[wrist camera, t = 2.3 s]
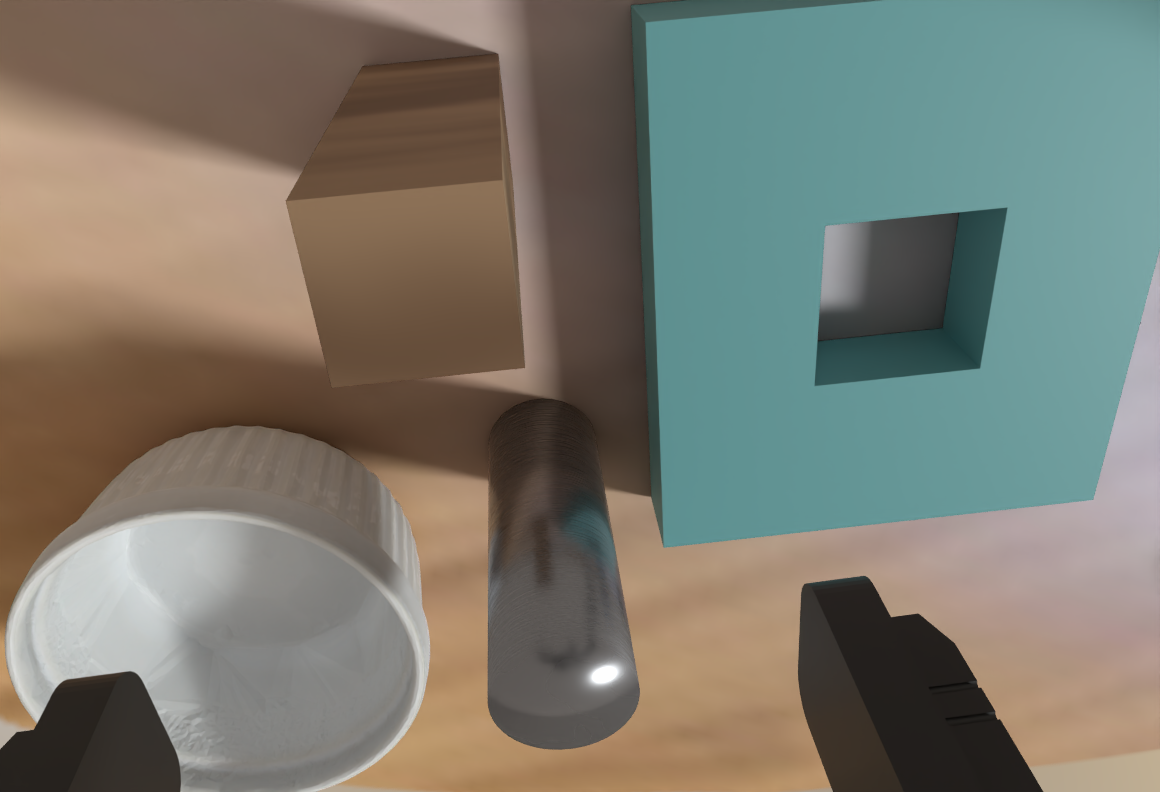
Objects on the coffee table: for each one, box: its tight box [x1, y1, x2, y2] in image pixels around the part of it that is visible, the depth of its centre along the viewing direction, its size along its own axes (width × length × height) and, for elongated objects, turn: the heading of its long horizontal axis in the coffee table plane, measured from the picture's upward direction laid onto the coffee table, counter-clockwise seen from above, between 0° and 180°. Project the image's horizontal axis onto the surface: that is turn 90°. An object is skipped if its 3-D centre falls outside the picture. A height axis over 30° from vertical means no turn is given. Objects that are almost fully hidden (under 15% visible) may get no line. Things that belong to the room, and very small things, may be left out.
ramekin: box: [5, 425, 430, 792], centre depth 33 cm, size 13×13×7 cm
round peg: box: [488, 399, 640, 750], centre depth 30 cm, size 4×4×12 cm
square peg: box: [286, 54, 525, 388], centre depth 23 cm, size 4×4×12 cm
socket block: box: [631, 0, 1160, 548], centre depth 31 cm, size 18×16×3 cm
